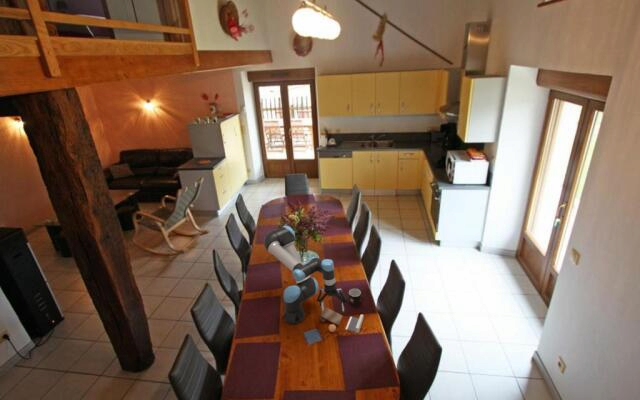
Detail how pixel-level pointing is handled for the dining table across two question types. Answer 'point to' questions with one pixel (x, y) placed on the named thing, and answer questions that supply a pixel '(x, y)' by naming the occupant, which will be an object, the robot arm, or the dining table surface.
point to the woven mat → (312, 336)
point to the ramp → (330, 316)
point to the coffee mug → (355, 297)
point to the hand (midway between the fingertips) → (333, 310)
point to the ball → (332, 328)
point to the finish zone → (355, 324)
